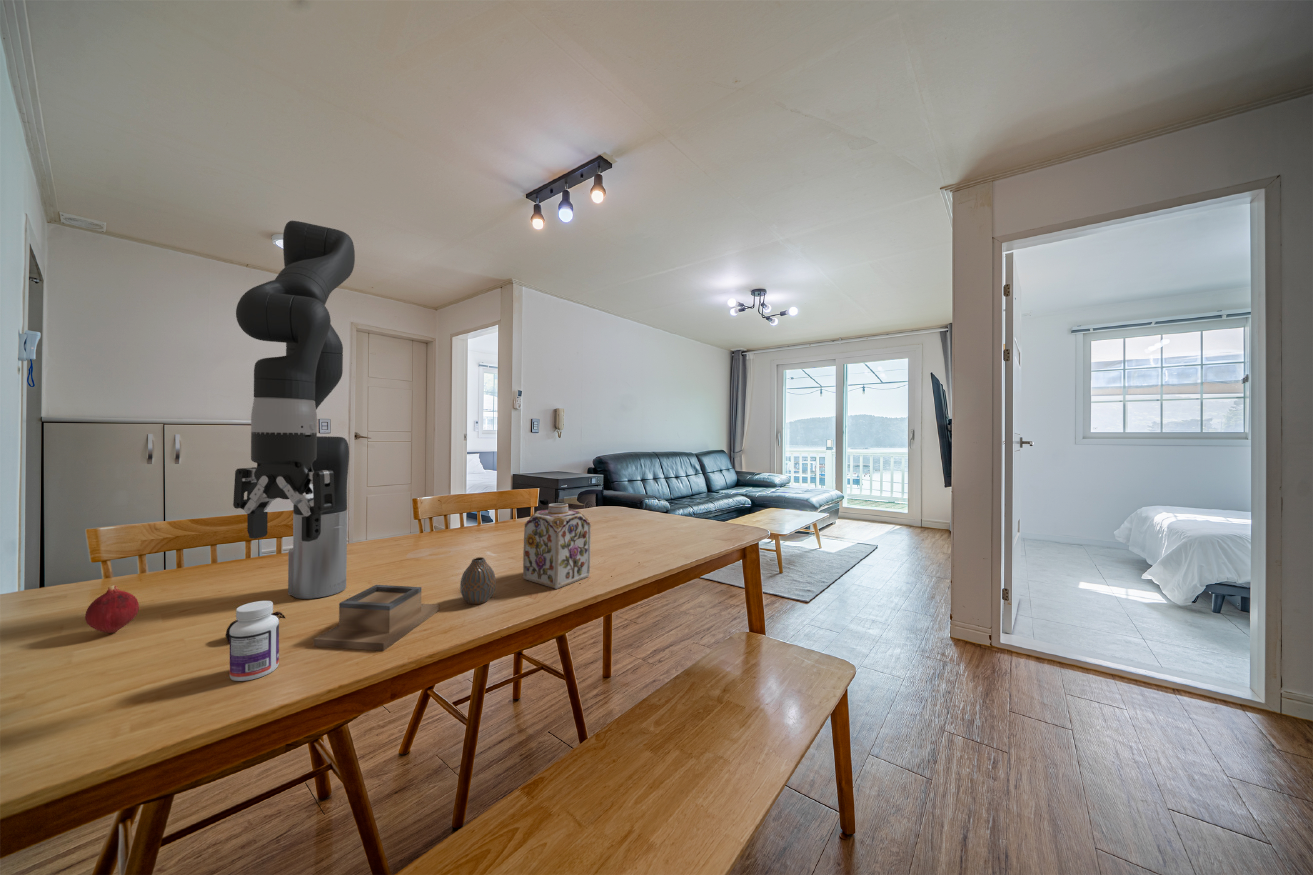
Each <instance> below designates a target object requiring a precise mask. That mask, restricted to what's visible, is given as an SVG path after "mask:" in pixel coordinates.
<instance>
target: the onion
mask: <svg viewBox="0 0 1313 875" xmlns="http://www.w3.org/2000/svg"><path fill="white" fill-rule="evenodd" d="M139 610H140V603H139V600H138V599H137V597H136V596H134V595H133V594H132V593H131V592H128V591H125V590H121V589H119V588H118V585H110V586H108V588H107V591H106V592H105V593H102V595H100V596H98V597H97V598H95V599H94V600H93V601H92V602H91V603H90V604H89V605H88V607H87V610H86V611H85V616H84V620H85V622H86V624H87V625H88V626H89V627H90V628H92V629H94V630H95V631H98V632H101V633H102V632H103V633H106V634H109V633H111V634H114V633H116V632H119V631H120V629H122V628H124V627H126V626H127V625H128V624H129V623H130V622H132V621H133V620H134V619H135V617H136V616H137V615H138V612H139Z"/></svg>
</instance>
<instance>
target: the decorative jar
mask: <svg viewBox="0 0 1313 875" xmlns="http://www.w3.org/2000/svg"><path fill="white" fill-rule="evenodd" d="M547 508H548V509H542V510H538V511H535V512H534V514H532V515H531V516H530V517H529V518H528V520H527V521H526V522H525V523H524V524H523V525H524V531H523V552H522V554H523V557H522V558H523V560H522V573H523V574H522V578H523V579H524V580H526V581H529V582H533V583H537V584H539V585H542V586H546V587H548V588H552V589H555V590H558V589H560V588H563V587H566V586H568V585H570V584H573V583H577V582H579V581H582V580H584V579H586V578H588V577H589V576H590V574H591V538H592V537H591V536H592V535H591V534H592V531H591V525H592V523H591V522H590V521H589V519H588V518H587V516H586V515H584V513H583V512H582V511H580V510H575V509H569V504H568V503H564V502H559V503H558V502H556V503H550V504H548V506H547Z"/></svg>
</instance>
